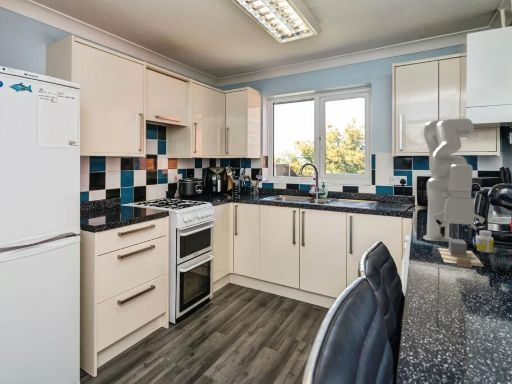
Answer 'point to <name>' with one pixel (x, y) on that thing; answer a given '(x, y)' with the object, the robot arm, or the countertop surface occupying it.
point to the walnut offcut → (464, 262)
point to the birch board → (452, 259)
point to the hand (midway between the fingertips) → (457, 237)
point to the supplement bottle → (485, 241)
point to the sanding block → (457, 247)
